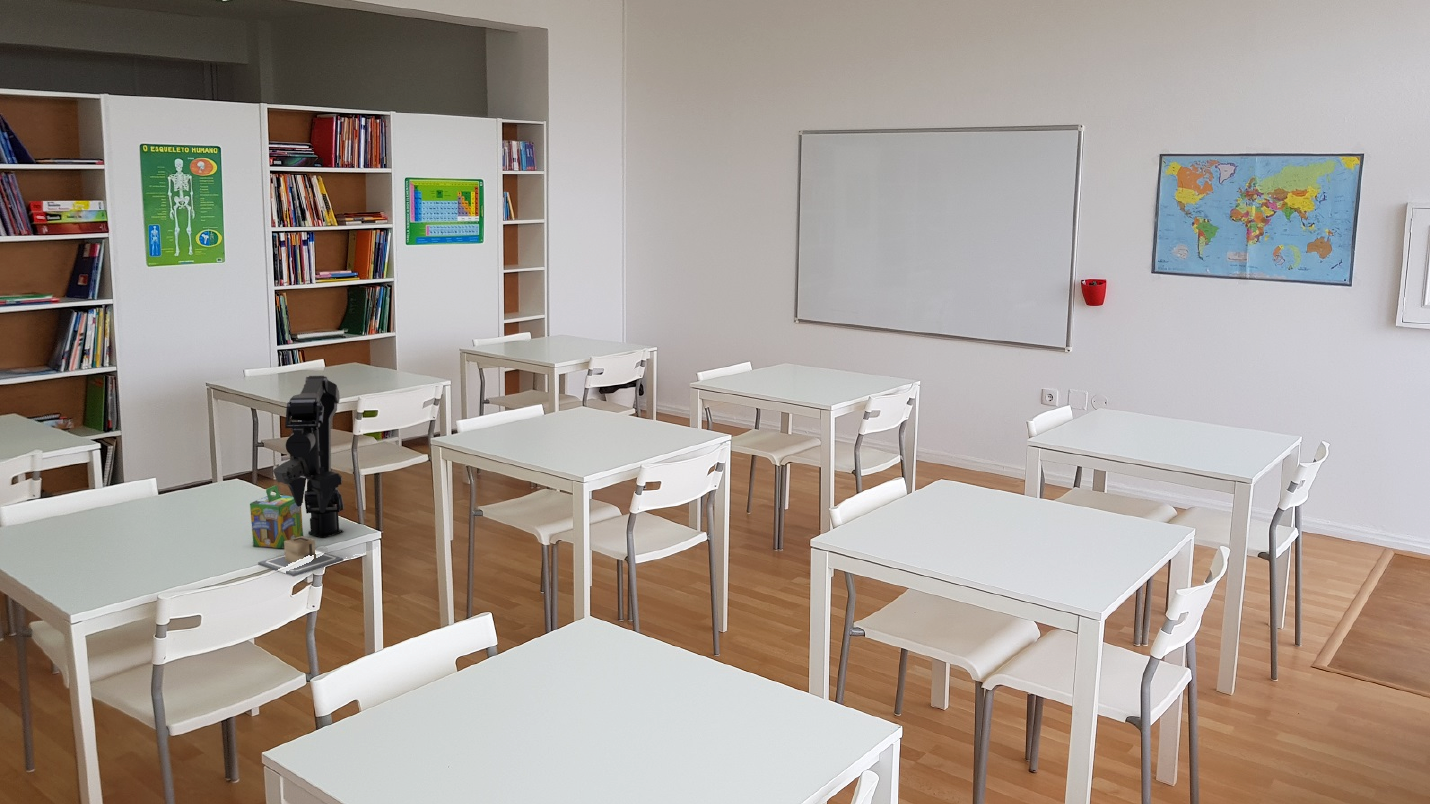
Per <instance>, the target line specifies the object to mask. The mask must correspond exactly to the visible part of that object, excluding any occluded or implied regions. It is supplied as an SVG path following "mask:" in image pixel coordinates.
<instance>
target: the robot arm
mask: <svg viewBox="0 0 1430 804" xmlns="http://www.w3.org/2000/svg"><path fill="white" fill-rule="evenodd" d="M340 399H341V398H340V390H339V387H338V384H336V383H334V382H333V381H331V380H329V379H328V377H327V376H325V375H309V376H306V377H305V383H304V384H303V387H302V390H301V392H300V393H299V394H296V395H293V396H292V397H290V399H289V402H288V401H287V403H286V410H285V411H286V412H285V421H284V424H285V425H284V428H285V429H291V430H292V431H291V434H290V436H289V437H288V438H287V439H286V440H285V449H286V451H287V453H288V454H289V460H287V461H285V462H283V463H281V464H280V465H278V466H277V467H275V468H273V469H272V472H273V474H274V477H275V479H276V482H277V483H282V484H284V485H286V486H288V489H289V491H290V493H291V495H292V497H293V498H294V500H295V502H296V505H297V506H298V507H299V506H301V507H302V505H303V501H304V505H305V506H304V507H305V512H306V514H310V518H309V524H310V525H309V526H310V530H309V531H308V532H307V533H308V534H309V535H312V536H316V537H319V538H322V539H323V538H326V537H327V538H328V537H330V536H334V535H337V534H340V533H343V532H344V530H343V529H341V528H340V519H339V518H340V517H339V513H340V512H341V511H344V510H345V509H344V501H343V500H344V499H343V495H342V494H341V492H340V490H339V489H338V488H339V486H340V485H342V484H343V478H342V475H341V474H340V473H338V472H334V471H332V419H333V417H334V415H335V414H336V413H337V412H338V404H339V403H340ZM307 480H308V481H307ZM305 489H306V490H305Z"/></svg>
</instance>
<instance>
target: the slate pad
mask: <svg viewBox="0 0 1430 804" xmlns="http://www.w3.org/2000/svg"><path fill="white" fill-rule="evenodd" d="M343 561H344V558H343V557H340V556H337V555H333V554H331V553H327V552H325V553H324V554H323V555H322V556H320V557H318V558H316V560H312V561H311V562H309V563H306V564H304V565H302V566H299V567H297V568H294V569H290V570H289V571H286V574H285V575H287V576H290V577H291V576H292V577H296V576H298V575H302V574H305V573H308V572H311V571H314V570H318V569H322V568H324V567H328V566H330V565H335V564H336V563H337V564H338V563H341V562H343ZM257 564H258V566H262V567H265V568H267V569H270V570H273V571H276V570H278V569H280V568H281V567H286V566H288V564H290V562H287V561H285V553H284V554H282V555H279V556H275V557H271V558H268V559H265V560H261V561H259V562H257Z"/></svg>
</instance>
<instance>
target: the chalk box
mask: <svg viewBox="0 0 1430 804" xmlns="http://www.w3.org/2000/svg"><path fill="white" fill-rule="evenodd" d="M265 492H266V496H263V497H261V498H259V499H257V500H254V501H252V502H250V503H249V507H250V519H251V520H250V521H251V532H252V533H251V534H252V546H253V547H261V548H262V547H263V548H274V549H283V550H285V547H284V541H287V540H290V539H294V538H297V537H301V536H303V537H304V532H303V531H304V530H303V518H302V517H303V513H302V505H301V506H299V507H298V506H297V505H296V502H295V500H294V498H293V496H290V495H281V492H280V490H279V487H278V486H277V484H275V485H273V486H271V487H268V488H266V489H265ZM272 492H275V494H271V493H272Z"/></svg>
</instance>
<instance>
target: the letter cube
mask: <svg viewBox="0 0 1430 804" xmlns="http://www.w3.org/2000/svg"><path fill="white" fill-rule="evenodd" d="M315 540H316V539H313V538H309V537H306V536H304V535H303V536H301V537H297V538H294V539H290V540H287V541H284V547H285V548H284V554H285V561H287V562H290V563H292V562H296V561H297V560H299V559H303V558H304V557H306V556H308V555H310V556H312V555H314V559H313V560H316V554H315V550H316V542H315Z"/></svg>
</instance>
